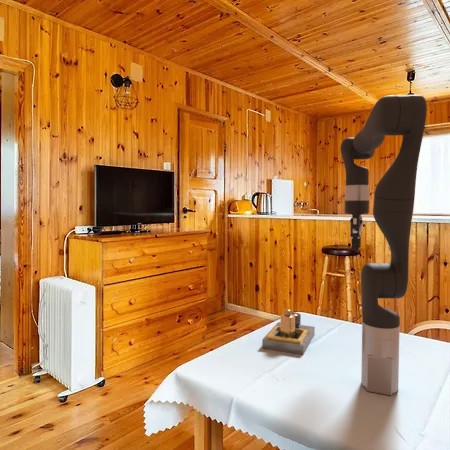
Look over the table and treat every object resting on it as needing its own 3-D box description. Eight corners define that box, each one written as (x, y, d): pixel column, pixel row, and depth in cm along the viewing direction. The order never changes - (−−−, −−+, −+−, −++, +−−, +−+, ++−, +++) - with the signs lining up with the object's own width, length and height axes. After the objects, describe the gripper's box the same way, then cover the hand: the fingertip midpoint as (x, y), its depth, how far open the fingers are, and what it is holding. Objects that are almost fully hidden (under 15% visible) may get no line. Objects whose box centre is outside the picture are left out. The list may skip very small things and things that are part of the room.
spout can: (292, 347, 125) (293, 312, 124) (278, 345, 127) (278, 311, 126) (296, 342, 129) (296, 309, 129) (282, 340, 132) (282, 307, 131)
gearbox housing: (303, 354, 119) (303, 330, 119) (262, 348, 125) (262, 325, 124) (314, 334, 137) (314, 313, 137) (278, 329, 143) (278, 309, 143)
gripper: (368, 199, 111) (367, 252, 112) (370, 199, 124) (369, 247, 125) (342, 199, 114) (341, 251, 115) (347, 199, 127) (346, 246, 128)
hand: (356, 248), depth 120 cm, fingers open, 8 cm apart
